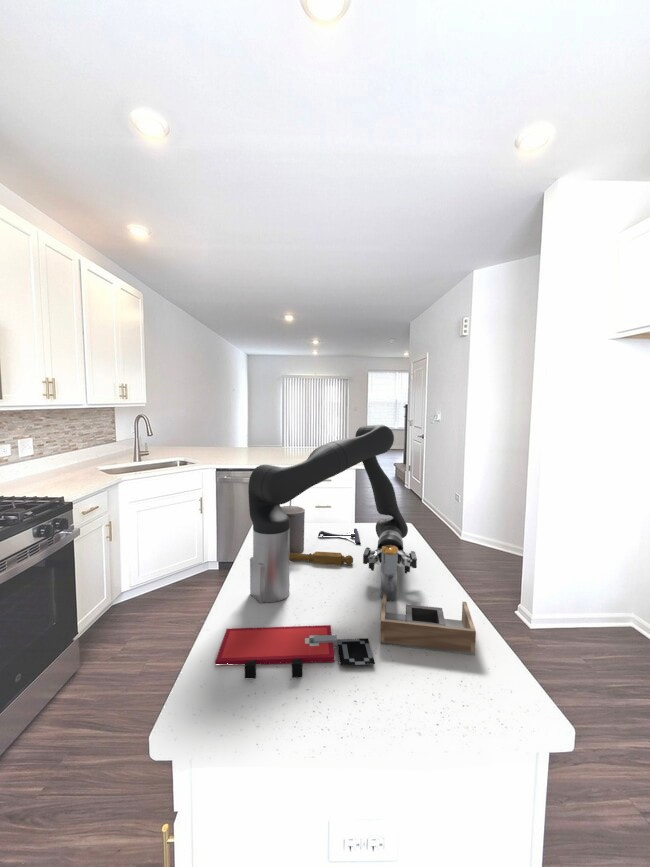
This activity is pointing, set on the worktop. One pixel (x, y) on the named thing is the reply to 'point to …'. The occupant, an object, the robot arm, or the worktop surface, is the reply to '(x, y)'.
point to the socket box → (428, 629)
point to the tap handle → (322, 558)
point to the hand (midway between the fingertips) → (389, 568)
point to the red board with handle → (290, 647)
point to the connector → (389, 572)
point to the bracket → (343, 535)
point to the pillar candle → (295, 527)
